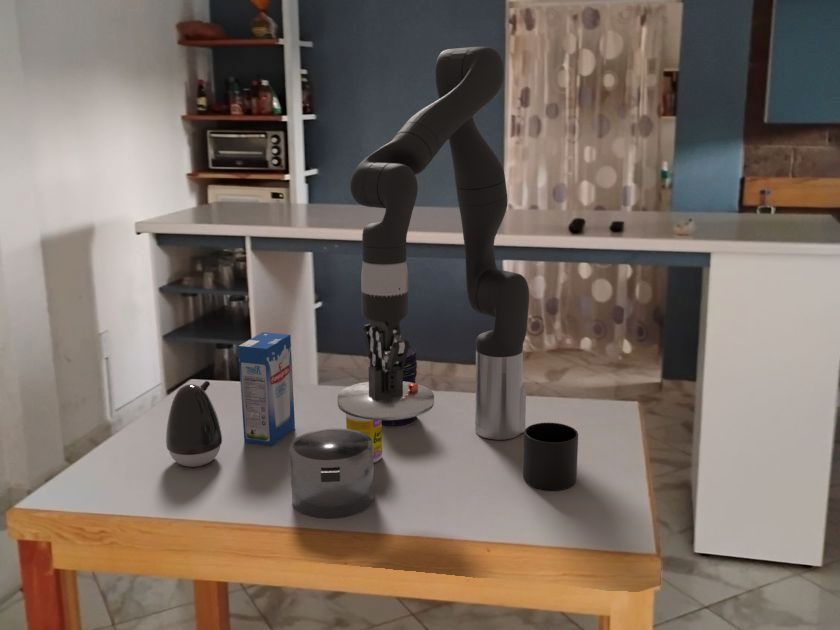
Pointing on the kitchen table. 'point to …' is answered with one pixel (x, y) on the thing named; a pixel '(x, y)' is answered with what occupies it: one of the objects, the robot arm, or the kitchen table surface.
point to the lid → (385, 398)
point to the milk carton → (266, 388)
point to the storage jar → (408, 376)
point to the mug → (550, 456)
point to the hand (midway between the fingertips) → (385, 389)
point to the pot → (332, 472)
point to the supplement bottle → (368, 432)
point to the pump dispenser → (193, 427)
